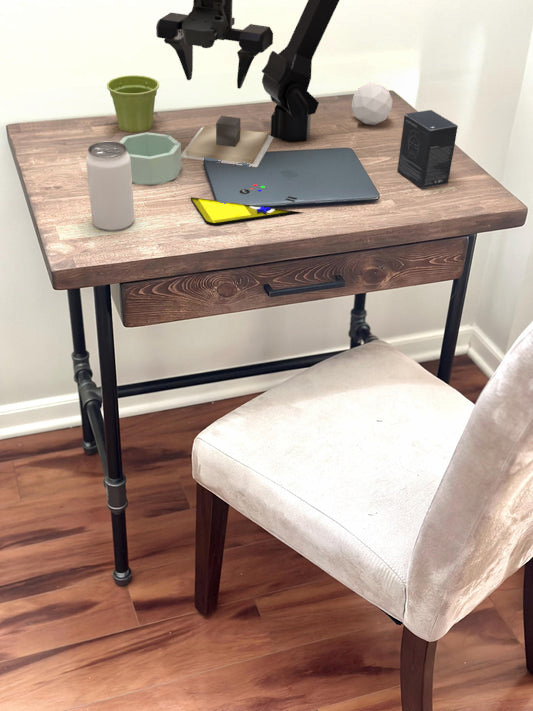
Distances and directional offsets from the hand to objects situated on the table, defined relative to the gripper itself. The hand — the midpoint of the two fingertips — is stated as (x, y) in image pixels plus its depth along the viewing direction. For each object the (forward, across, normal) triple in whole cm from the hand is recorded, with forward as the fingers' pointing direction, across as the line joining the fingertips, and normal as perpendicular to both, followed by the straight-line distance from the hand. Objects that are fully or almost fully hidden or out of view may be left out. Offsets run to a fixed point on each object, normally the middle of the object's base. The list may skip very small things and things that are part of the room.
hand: (214, 83), depth 148 cm
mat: (+12, +2, +2) cm, 13 cm away
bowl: (+13, -6, -13) cm, 19 cm away
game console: (+13, +13, -16) cm, 24 cm away
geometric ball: (+12, +23, +25) cm, 36 cm away
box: (+12, +37, +5) cm, 39 cm away
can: (+13, -5, -30) cm, 33 cm away
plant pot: (+13, -17, +4) cm, 22 cm away
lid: (+12, +2, +2) cm, 12 cm away
